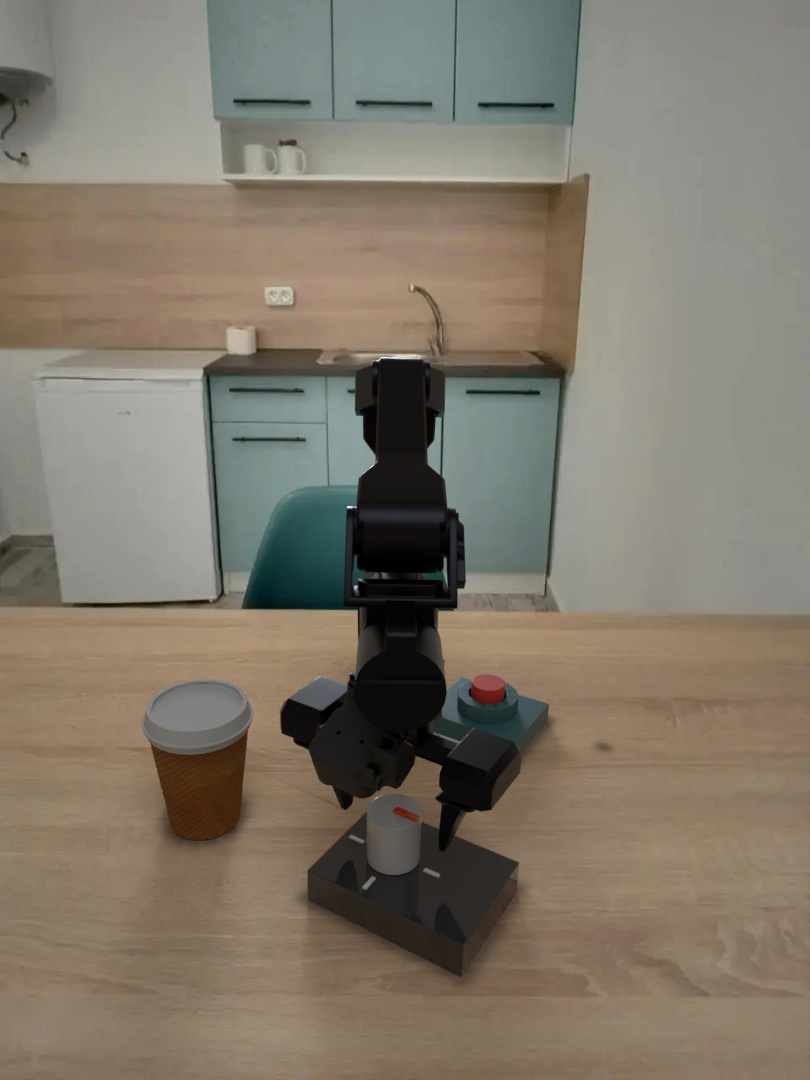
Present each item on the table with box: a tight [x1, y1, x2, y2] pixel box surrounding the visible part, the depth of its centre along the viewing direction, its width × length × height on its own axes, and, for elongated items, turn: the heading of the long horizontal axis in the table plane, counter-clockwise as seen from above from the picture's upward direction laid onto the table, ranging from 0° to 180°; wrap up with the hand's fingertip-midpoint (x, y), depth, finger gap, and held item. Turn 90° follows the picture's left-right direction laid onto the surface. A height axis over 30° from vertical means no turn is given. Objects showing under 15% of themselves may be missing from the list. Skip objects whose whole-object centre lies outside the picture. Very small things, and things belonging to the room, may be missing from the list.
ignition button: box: [471, 673, 506, 704], centre depth 90 cm, size 4×4×2 cm
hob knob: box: [366, 793, 423, 875], centre depth 67 cm, size 4×4×5 cm
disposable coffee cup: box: [141, 678, 254, 841], centre depth 74 cm, size 10×10×12 cm
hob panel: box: [306, 810, 520, 977], centre depth 67 cm, size 14×10×3 cm
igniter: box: [433, 676, 550, 754], centre depth 91 cm, size 11×9×4 cm
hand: (394, 826), depth 67 cm, fingers open, 9 cm apart
